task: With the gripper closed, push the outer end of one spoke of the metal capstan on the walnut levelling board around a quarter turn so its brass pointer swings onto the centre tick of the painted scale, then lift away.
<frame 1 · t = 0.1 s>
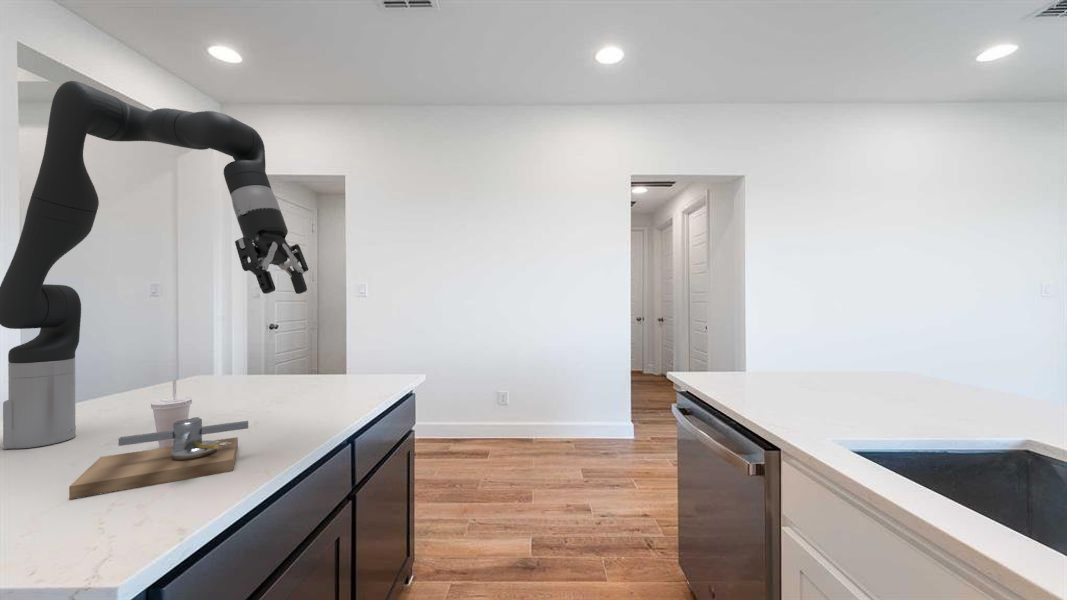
hand: (286, 292, 81), 31 cm above the table, tool tilted 20°, fingers open, 8 cm apart
smoothie: (172, 449, 85), on the table
board: (166, 469, 74), on the table
capstan: (187, 437, 76), point 5 cm above the table, hinge at 0.0°
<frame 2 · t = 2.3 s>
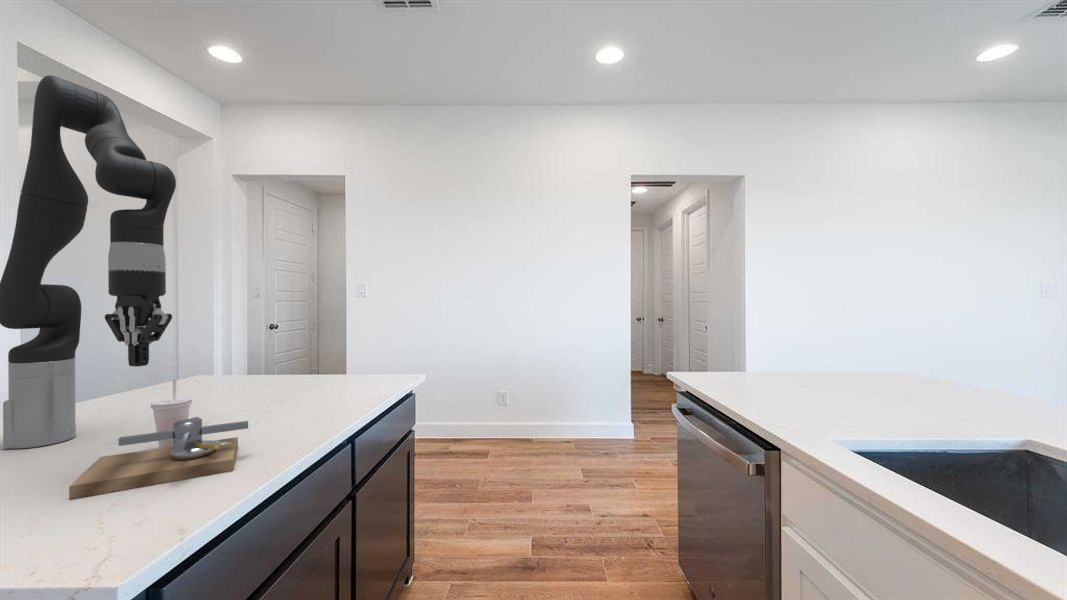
hand: (138, 365, 76), 18 cm above the table, tool pointing down, fingers closed
nothing on the table moved.
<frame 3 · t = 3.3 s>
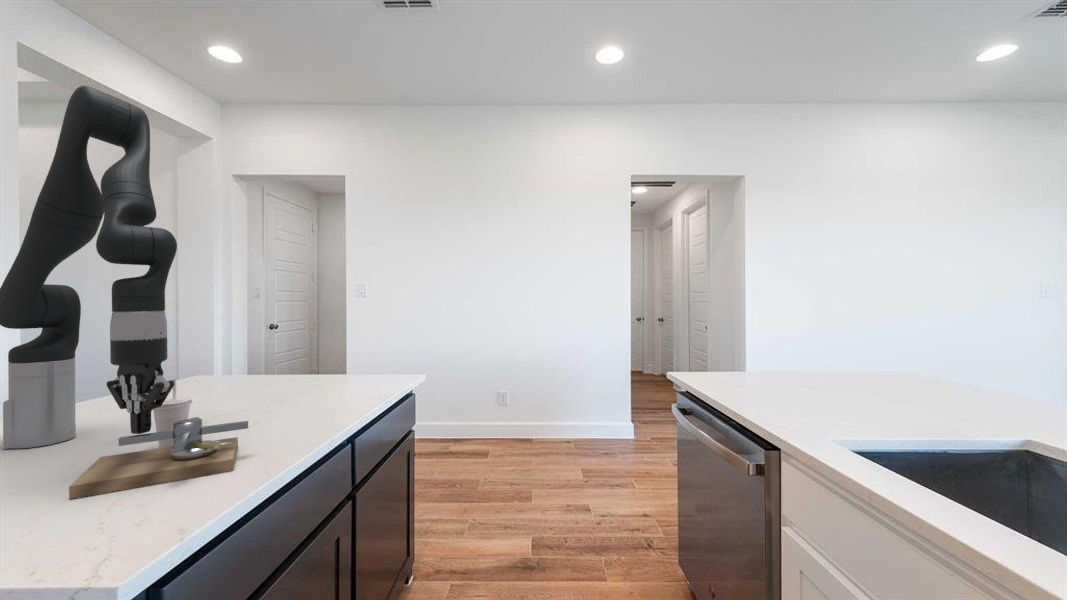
hand: (140, 432, 76), 6 cm above the table, tool pointing down, fingers closed
nothing on the table moved.
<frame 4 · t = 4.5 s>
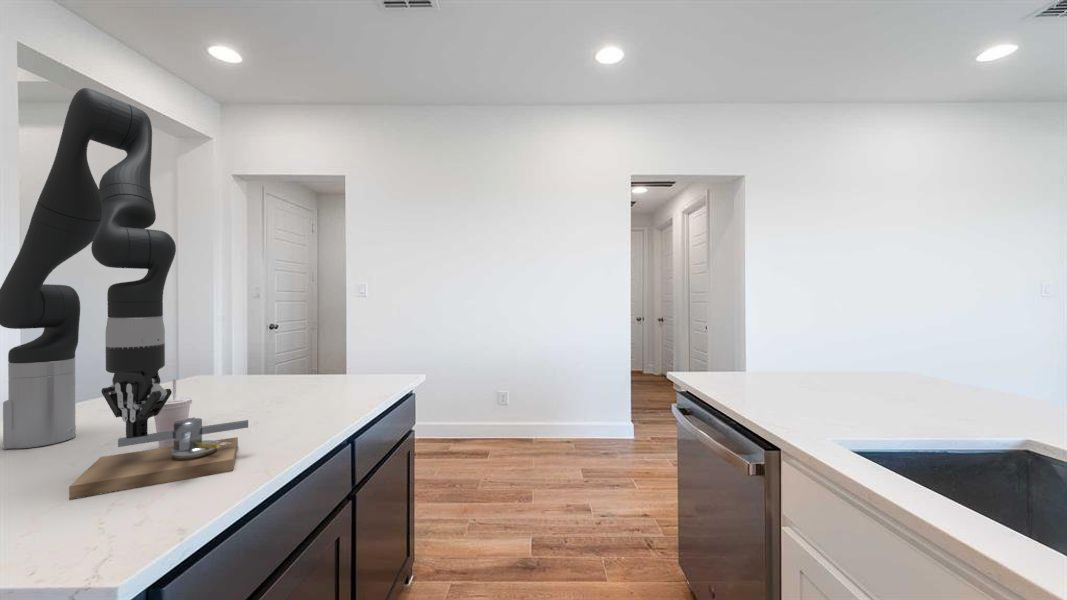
hand: (136, 441, 74), 5 cm above the table, tool pointing down, fingers closed
capstan: (187, 437, 76), point 5 cm above the table, hinge at 4.1°, touching gripper
everything else where it was.
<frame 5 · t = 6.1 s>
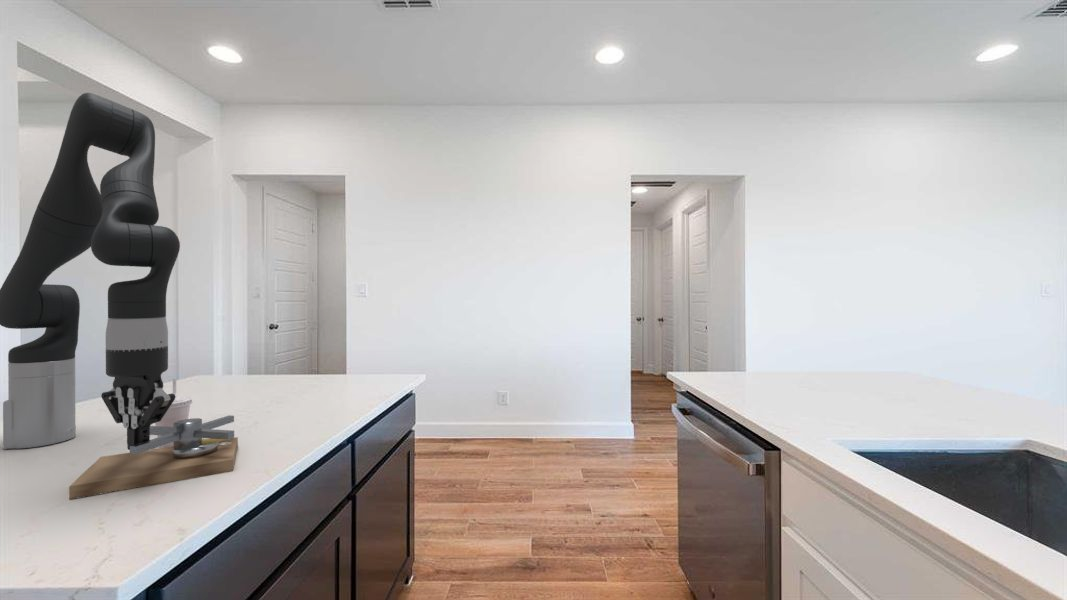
hand: (138, 448, 70), 5 cm above the table, tool pointing down, fingers closed
capstan: (187, 437, 76), point 5 cm above the table, hinge at 48.4°, touching gripper
everything else where it was.
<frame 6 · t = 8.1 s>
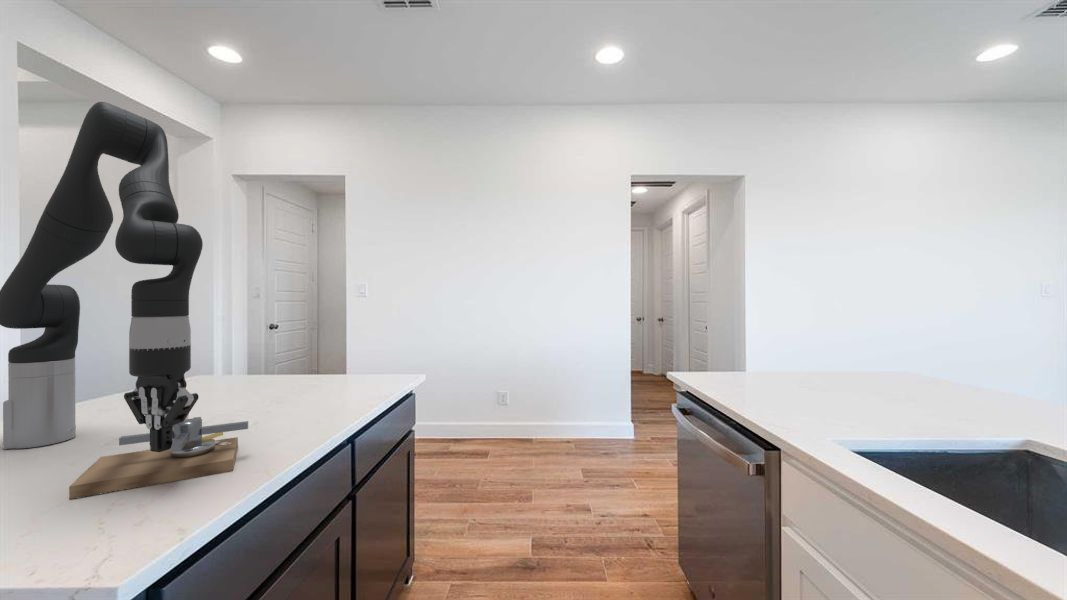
hand: (161, 450, 69), 5 cm above the table, tool pointing down, fingers closed
capstan: (187, 437, 76), point 5 cm above the table, hinge at 87.8°
everything else where it was.
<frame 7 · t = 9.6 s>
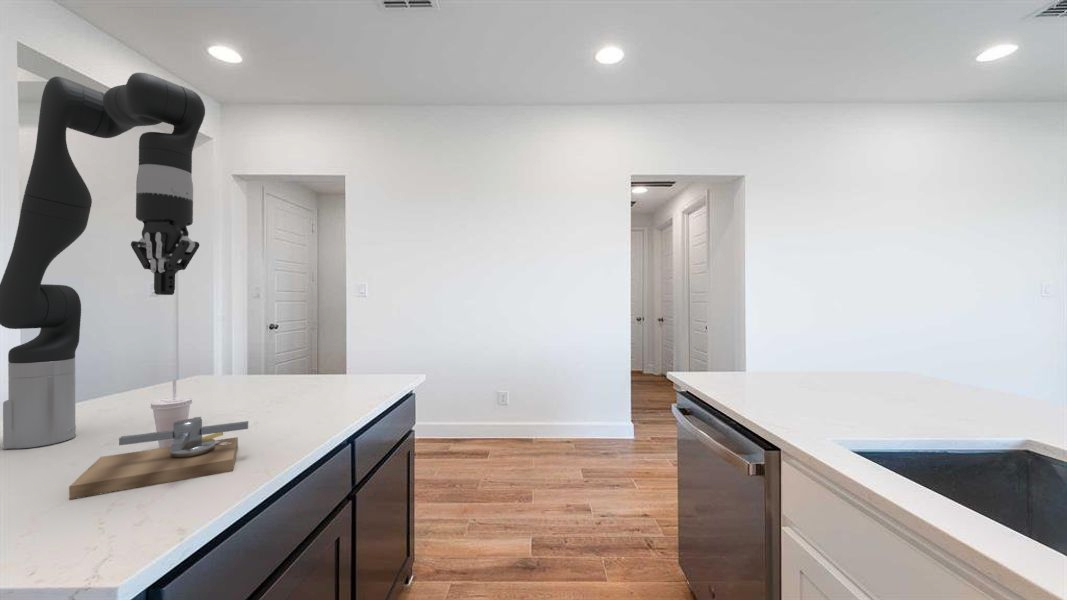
hand: (164, 294, 74), 31 cm above the table, tool pointing down, fingers closed
nothing on the table moved.
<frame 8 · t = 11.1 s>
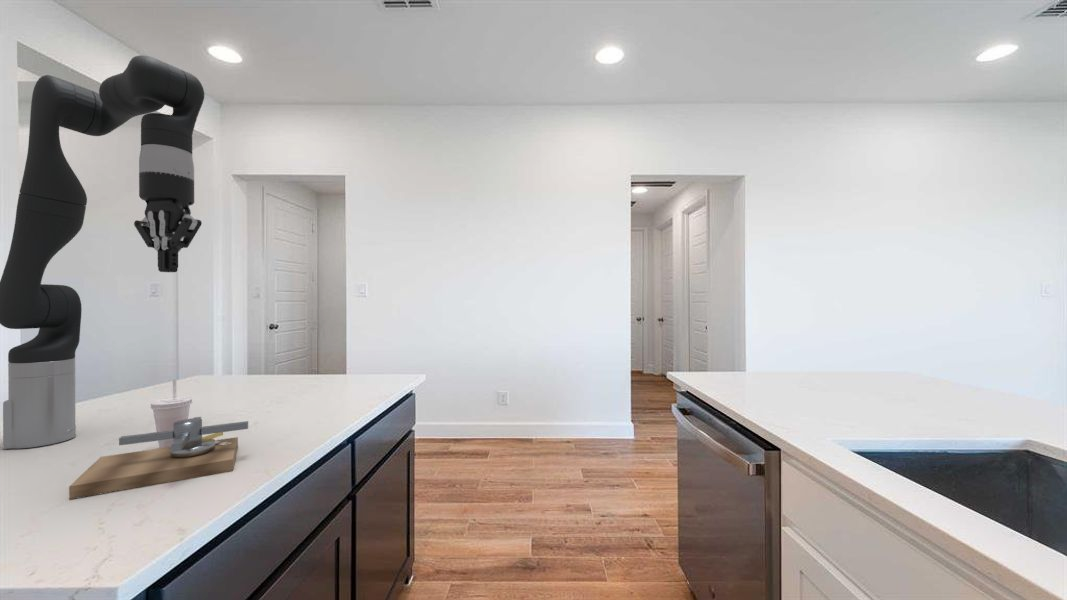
hand: (167, 271, 76), 35 cm above the table, tool pointing down, fingers closed
nothing on the table moved.
at the end: capstan at +88° (first picture: +0°) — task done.
